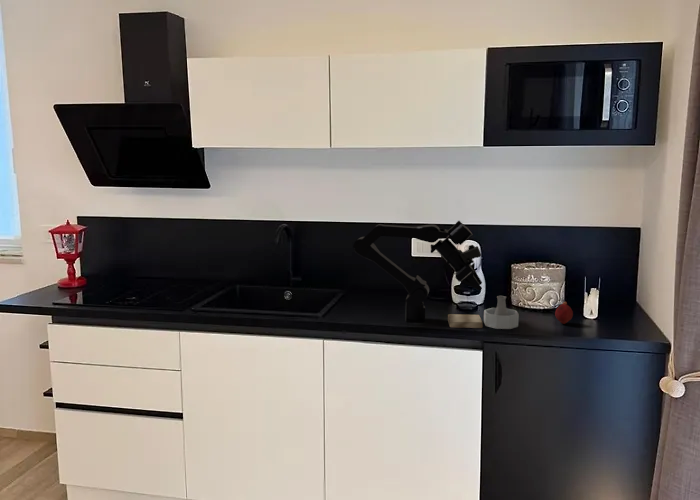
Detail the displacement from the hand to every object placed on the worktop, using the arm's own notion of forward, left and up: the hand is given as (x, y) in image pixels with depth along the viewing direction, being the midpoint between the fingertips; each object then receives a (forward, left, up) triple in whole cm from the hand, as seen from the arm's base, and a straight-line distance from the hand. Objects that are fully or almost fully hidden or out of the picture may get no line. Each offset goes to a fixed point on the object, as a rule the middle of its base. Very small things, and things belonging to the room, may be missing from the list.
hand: (481, 286), depth 223 cm
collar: (+7, -1, -13) cm, 15 cm away
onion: (+29, +1, -13) cm, 32 cm away
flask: (+7, -1, -13) cm, 15 cm away
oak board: (-5, -1, -13) cm, 14 cm away
